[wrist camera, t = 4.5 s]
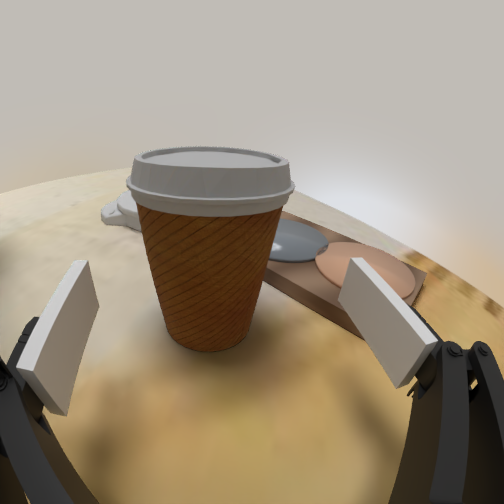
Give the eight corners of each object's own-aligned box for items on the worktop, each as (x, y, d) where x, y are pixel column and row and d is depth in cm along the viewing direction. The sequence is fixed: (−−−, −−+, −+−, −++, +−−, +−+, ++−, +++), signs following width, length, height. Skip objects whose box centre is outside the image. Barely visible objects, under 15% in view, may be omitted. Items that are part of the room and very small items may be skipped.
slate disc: (210, 232, 30) (210, 229, 30) (274, 214, 38) (275, 212, 37) (288, 275, 24) (288, 271, 24) (344, 244, 31) (345, 241, 31)
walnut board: (204, 244, 31) (204, 232, 30) (281, 220, 40) (283, 210, 40) (384, 351, 18) (392, 337, 17) (422, 284, 27) (427, 273, 26)
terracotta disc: (292, 264, 26) (293, 260, 26) (344, 237, 33) (345, 234, 33) (396, 318, 19) (398, 314, 19) (422, 273, 26) (424, 270, 26)
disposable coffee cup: (258, 385, 15) (292, 181, 10) (122, 346, 16) (88, 165, 11) (278, 297, 23) (300, 155, 18) (176, 276, 25) (174, 143, 19)
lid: (112, 200, 44) (111, 184, 43) (219, 196, 50) (220, 180, 48) (88, 242, 30) (84, 219, 28) (242, 234, 35) (243, 212, 34)
